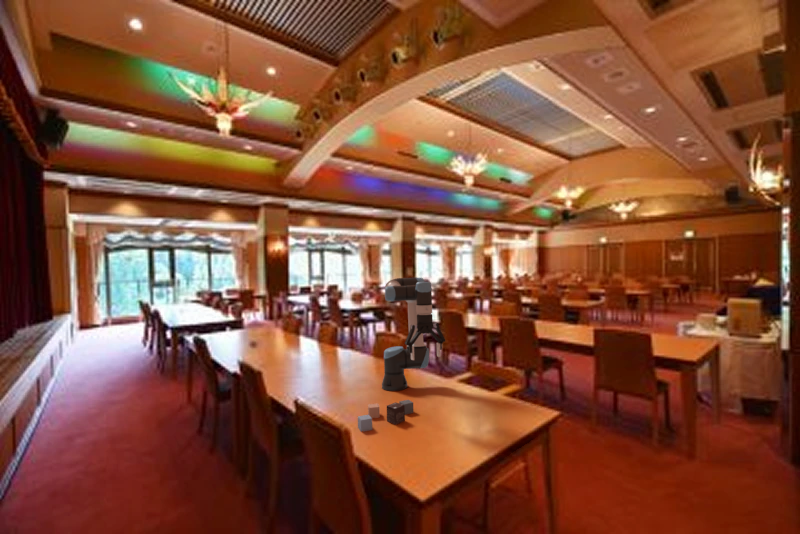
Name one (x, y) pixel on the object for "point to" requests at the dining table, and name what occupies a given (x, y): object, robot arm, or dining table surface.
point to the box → (395, 413)
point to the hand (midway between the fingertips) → (425, 358)
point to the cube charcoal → (407, 406)
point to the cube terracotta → (373, 410)
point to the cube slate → (364, 423)
